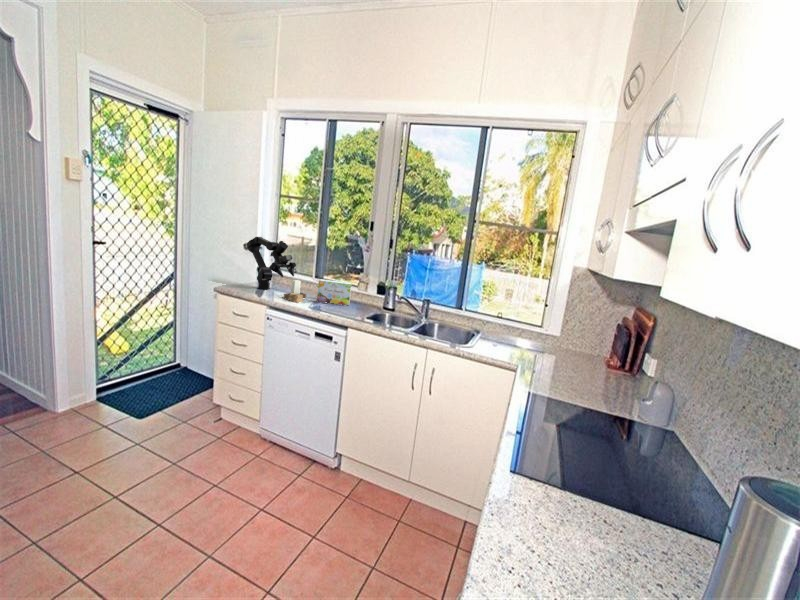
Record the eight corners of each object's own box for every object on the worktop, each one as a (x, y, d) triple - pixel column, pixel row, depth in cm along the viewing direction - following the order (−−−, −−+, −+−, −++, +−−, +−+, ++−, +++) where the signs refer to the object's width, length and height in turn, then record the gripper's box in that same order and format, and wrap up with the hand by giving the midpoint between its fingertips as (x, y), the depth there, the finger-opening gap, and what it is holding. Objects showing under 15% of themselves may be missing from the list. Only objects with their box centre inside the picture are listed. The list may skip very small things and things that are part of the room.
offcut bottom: (288, 301, 244) (288, 297, 244) (294, 300, 248) (295, 296, 248) (296, 303, 240) (297, 299, 239) (303, 302, 244) (303, 299, 243)
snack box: (316, 302, 249) (318, 279, 246) (318, 301, 254) (320, 278, 252) (348, 306, 250) (351, 283, 247) (349, 304, 255) (351, 282, 253)
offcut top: (289, 297, 243) (289, 293, 243) (294, 296, 247) (294, 293, 247) (297, 299, 240) (297, 295, 240) (302, 298, 244) (302, 295, 244)
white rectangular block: (290, 298, 252) (291, 280, 249) (296, 297, 256) (297, 280, 254) (293, 299, 250) (295, 281, 248) (299, 298, 254) (300, 280, 252)
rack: (283, 298, 249) (283, 293, 248) (299, 296, 260) (300, 292, 260) (289, 300, 245) (290, 295, 245) (306, 298, 257) (306, 294, 257)
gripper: (273, 250, 247) (283, 269, 243) (295, 250, 262) (305, 269, 258) (264, 260, 252) (274, 279, 248) (287, 260, 268) (296, 278, 264)
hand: (288, 276), depth 255 cm, fingers open, 9 cm apart
